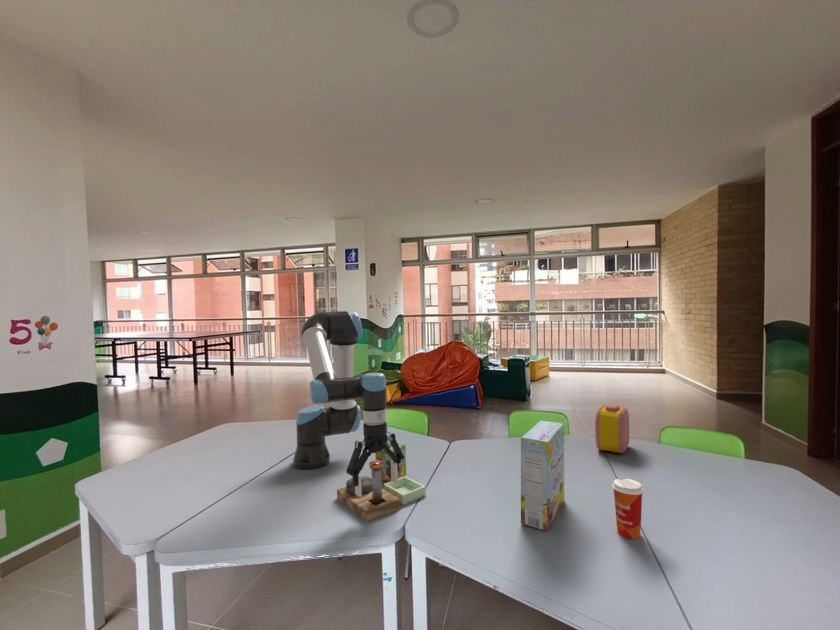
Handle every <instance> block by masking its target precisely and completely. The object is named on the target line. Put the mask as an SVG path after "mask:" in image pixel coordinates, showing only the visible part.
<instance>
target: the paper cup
mask: <svg viewBox="0 0 840 630" xmlns="http://www.w3.org/2000/svg"><path fill="white" fill-rule="evenodd" d="M612 488H613V495H614V507H615V508H614V509H615V520H616V521H615V522H616V531H617V533H618V535H619V536H621V537H623V538H625V539H629V540H638V539H640V538H641V530H642V528H641V527H642V508H643V507H642V506H643V493H644V492H645V491H644V489H643V487H642V484H641V483H640V482H639V481H636V480H634V479H630V478H619V479H618V478H616V479H614V480H613V483H612Z"/></svg>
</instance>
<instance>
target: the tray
mask: <svg viewBox="0 0 840 630" xmlns="http://www.w3.org/2000/svg"><path fill="white" fill-rule="evenodd" d="M382 487H383V489H384V490H385V491H387V492H389V493H390V494H392V495H394V496H395V497H397V498H399V499H400V505H407V504H409V503H412V502H413V501H417V500H418V499H421V498H423V496H424V497H426V496H427V490H426V489H427V487H426V485H423V484H422V483H420V482H418V481H415V480H414V479H412V478H410V477H408V476H406V475H404V476H403V477H401V478H399V479H398V483H397V484H395V483H393V482H392V481H387V482H385V483H382Z"/></svg>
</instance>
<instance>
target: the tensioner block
mask: <svg viewBox="0 0 840 630" xmlns="http://www.w3.org/2000/svg"><path fill="white" fill-rule="evenodd" d="M345 485H346V486H344V487H341V488H339V489H337V490H336V496H337V497H336V499H337V500H339V501H340V502H341V503H342V504H344V505H345V506H347V508H349V509H351V510H352V512H354V513H355V514H357V515H359V517H361V518H362V519H363V520H365V521H366V522H368V523H369V522H371V521H374V520H376V519H379V518H381V517H383V516H386V515H388V514H390V513H392V512H395V511H398V510H400V509H401V503H400V499H399V498H397V497H395V496H394V495H392V494H390V493H389V492H387V491H385V490H384V488H382V503H381V504H378V505H376V506H375V505H374V504H372V477H368V476H362V475H361V487H362V496H361V497H359V496H357V495H356V494H355V486H354V485H353V480H352V477H351V478H349V479H348V480H347V481H346V482H345ZM385 514H386V515H385Z"/></svg>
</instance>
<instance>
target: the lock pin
mask: <svg viewBox="0 0 840 630" xmlns="http://www.w3.org/2000/svg"><path fill="white" fill-rule="evenodd" d="M368 465H369V469H370V471H371V472H370V473H371V479H372V504H374V505H375V506H376V505H378V504H381V503H382V489H383V480H382V470H381V468H383V461H380V460H376V459H374V460H371V461H369V463H368Z"/></svg>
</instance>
